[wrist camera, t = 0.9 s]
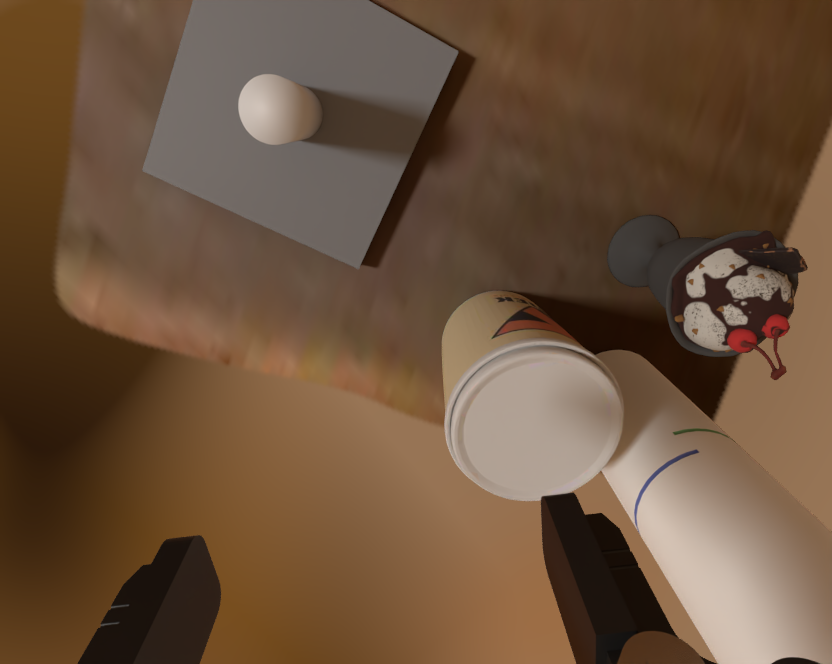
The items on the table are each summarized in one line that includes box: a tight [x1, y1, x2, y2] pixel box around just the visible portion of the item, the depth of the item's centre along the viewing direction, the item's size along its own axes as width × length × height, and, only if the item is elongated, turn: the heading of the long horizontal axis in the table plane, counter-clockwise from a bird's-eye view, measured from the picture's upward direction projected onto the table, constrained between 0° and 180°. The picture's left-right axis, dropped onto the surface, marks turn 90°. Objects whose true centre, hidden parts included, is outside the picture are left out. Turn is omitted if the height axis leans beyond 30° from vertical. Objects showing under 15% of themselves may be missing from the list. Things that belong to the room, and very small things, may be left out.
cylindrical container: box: [595, 350, 832, 664], centre depth 29 cm, size 7×7×25 cm
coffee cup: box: [442, 291, 624, 501], centre depth 33 cm, size 9×9×12 cm
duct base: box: [142, 0, 459, 269], centre depth 28 cm, size 14×14×8 cm
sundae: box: [607, 215, 807, 380], centre depth 29 cm, size 7×7×15 cm
